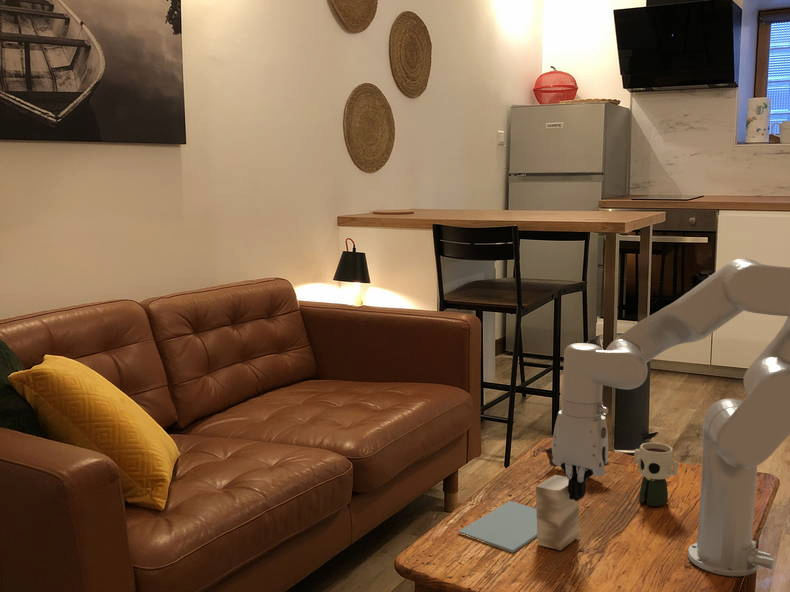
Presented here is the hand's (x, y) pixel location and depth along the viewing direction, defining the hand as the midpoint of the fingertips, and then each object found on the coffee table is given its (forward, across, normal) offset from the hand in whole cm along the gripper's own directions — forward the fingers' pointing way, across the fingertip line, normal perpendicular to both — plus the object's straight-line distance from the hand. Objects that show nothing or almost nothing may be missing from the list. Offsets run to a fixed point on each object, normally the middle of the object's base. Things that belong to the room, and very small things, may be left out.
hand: (576, 498), depth 160 cm
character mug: (+10, -4, -31) cm, 33 cm away
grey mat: (+10, +14, 0) cm, 18 cm away
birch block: (+10, +4, 0) cm, 11 cm away
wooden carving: (+11, +17, -35) cm, 41 cm away
